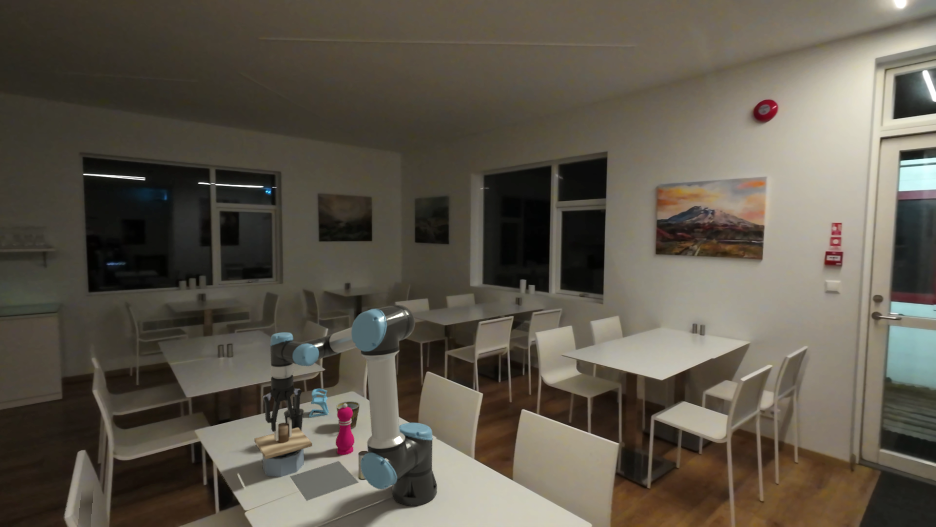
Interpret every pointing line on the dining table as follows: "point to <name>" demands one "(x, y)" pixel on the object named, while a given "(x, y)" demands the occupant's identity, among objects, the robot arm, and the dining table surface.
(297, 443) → the lid
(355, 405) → the ceramic cup
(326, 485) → the mat
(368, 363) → the robot arm
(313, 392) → the chair
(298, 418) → the drinking cup
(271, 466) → the bowl
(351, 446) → the pepper mill
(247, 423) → the dining table surface
